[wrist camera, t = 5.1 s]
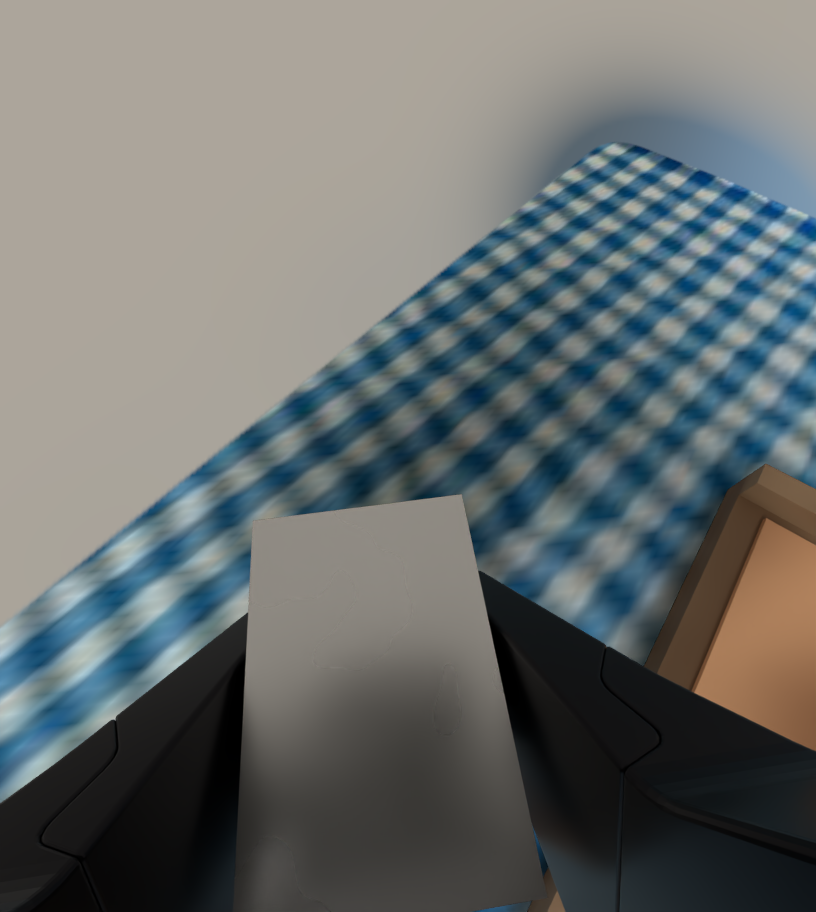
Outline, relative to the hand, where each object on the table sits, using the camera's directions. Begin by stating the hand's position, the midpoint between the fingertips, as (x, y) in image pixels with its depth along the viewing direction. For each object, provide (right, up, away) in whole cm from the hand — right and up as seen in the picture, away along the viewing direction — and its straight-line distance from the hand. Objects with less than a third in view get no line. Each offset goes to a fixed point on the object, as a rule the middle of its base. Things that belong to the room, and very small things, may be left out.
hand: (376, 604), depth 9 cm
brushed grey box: (0, -5, +5) cm, 7 cm away
